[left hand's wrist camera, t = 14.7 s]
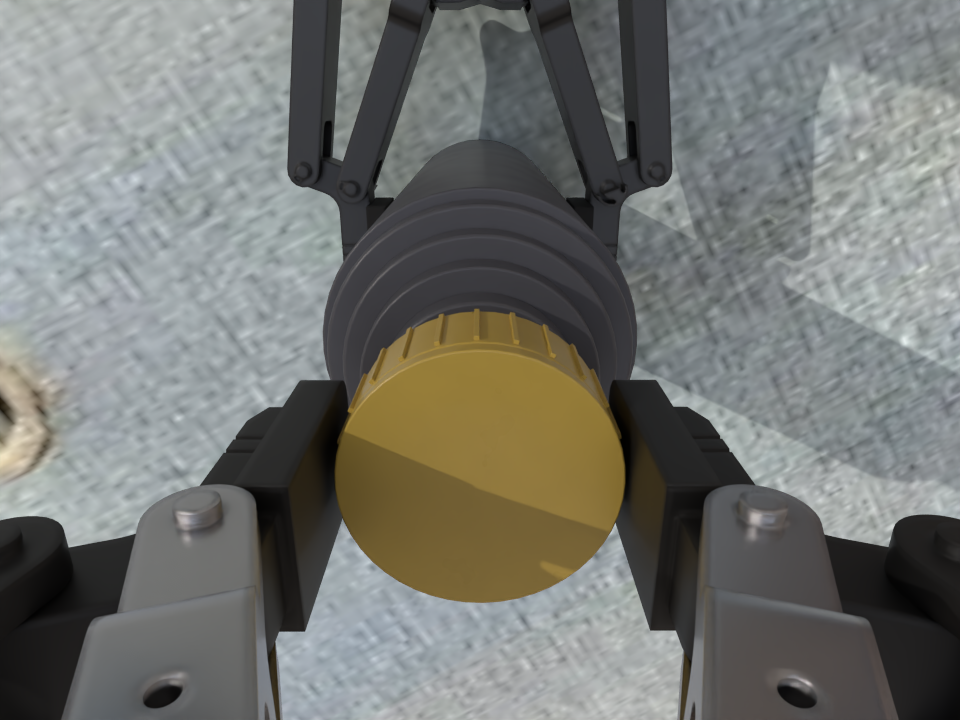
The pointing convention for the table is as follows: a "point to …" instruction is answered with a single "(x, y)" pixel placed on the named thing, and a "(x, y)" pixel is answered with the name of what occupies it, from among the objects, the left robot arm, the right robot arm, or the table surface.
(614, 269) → the bottle
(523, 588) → the cap
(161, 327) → the table surface
